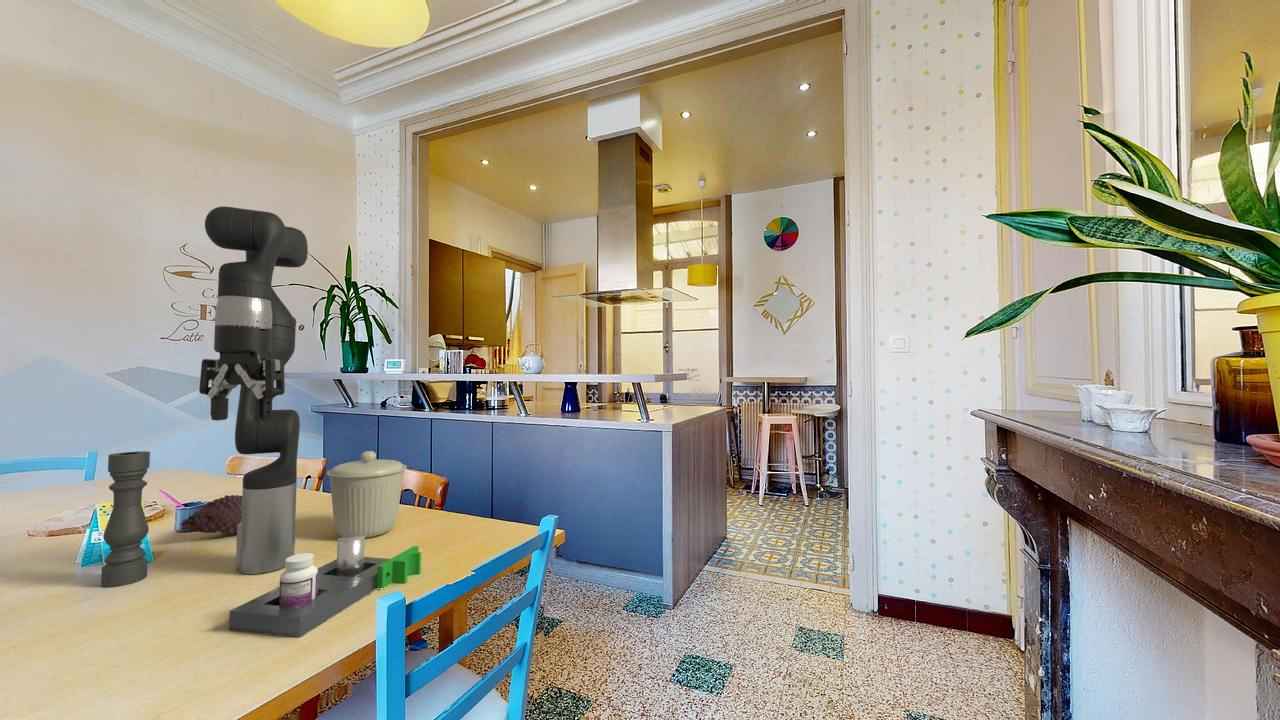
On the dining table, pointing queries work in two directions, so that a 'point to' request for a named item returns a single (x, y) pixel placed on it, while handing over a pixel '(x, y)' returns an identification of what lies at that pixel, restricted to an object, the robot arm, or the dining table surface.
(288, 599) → the pill bottle
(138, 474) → the candle holder
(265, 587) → the dining table surface
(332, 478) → the canister
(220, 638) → the dining table surface
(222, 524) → the pine cone
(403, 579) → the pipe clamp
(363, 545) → the clear glass cylinder
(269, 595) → the hole plate
